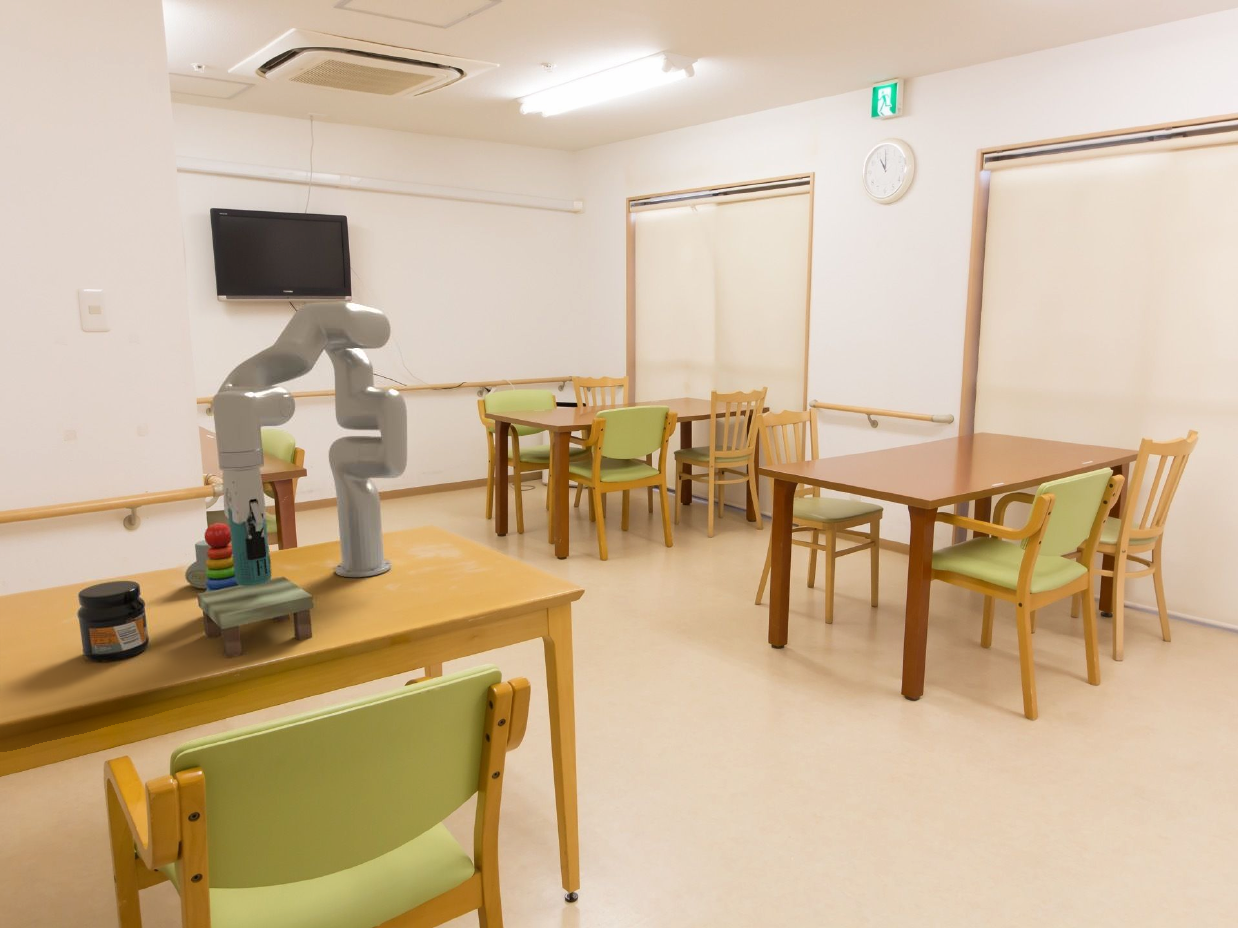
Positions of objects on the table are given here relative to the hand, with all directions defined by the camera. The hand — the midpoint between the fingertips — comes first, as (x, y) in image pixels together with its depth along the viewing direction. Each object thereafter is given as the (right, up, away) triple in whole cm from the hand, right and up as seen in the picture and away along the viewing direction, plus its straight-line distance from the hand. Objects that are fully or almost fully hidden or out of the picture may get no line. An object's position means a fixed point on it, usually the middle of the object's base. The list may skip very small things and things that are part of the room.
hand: (250, 553), depth 161 cm
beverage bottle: (0, -7, +1) cm, 7 cm away
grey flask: (-23, -11, +34) cm, 42 cm away
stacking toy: (-11, -14, +15) cm, 23 cm away
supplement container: (-22, -18, -4) cm, 29 cm away
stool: (0, -16, +3) cm, 16 cm away
